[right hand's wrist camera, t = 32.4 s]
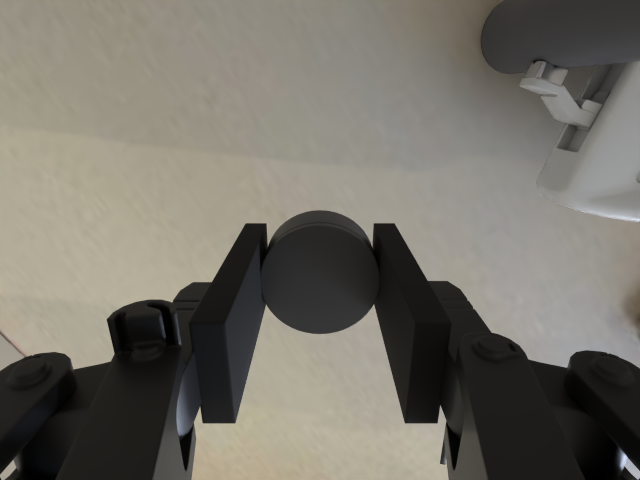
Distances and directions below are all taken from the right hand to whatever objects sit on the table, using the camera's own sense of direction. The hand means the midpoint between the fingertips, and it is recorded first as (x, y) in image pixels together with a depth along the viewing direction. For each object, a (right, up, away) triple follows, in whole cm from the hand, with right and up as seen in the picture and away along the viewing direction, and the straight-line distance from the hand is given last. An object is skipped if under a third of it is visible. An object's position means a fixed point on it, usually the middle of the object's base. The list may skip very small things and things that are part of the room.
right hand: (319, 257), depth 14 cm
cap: (0, -1, -1) cm, 2 cm away
